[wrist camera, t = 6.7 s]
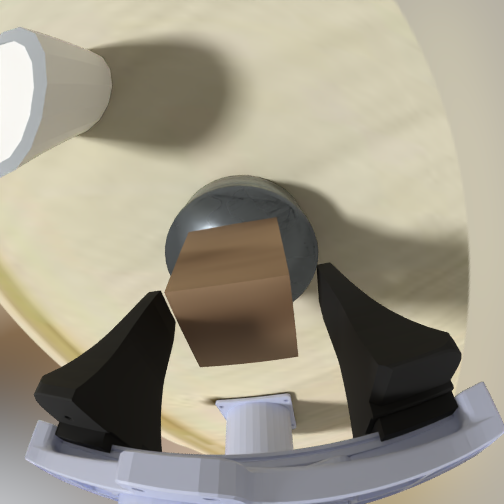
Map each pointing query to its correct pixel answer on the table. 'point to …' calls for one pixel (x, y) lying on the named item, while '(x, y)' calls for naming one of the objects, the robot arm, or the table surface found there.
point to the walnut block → (234, 294)
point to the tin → (244, 210)
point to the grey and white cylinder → (46, 94)
